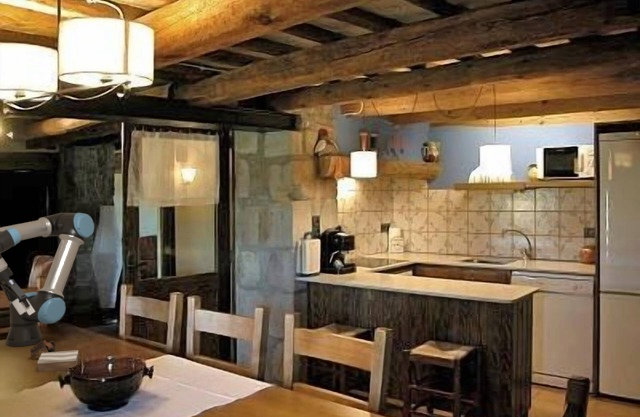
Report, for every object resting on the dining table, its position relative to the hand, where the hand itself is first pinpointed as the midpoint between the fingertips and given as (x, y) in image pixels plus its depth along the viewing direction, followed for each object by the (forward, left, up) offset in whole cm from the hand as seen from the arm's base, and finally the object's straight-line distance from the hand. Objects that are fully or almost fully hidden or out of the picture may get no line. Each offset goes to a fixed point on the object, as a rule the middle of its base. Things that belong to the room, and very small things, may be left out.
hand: (27, 313), depth 258 cm
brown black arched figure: (+2, +7, -19) cm, 20 cm away
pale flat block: (+18, +14, -19) cm, 29 cm away
